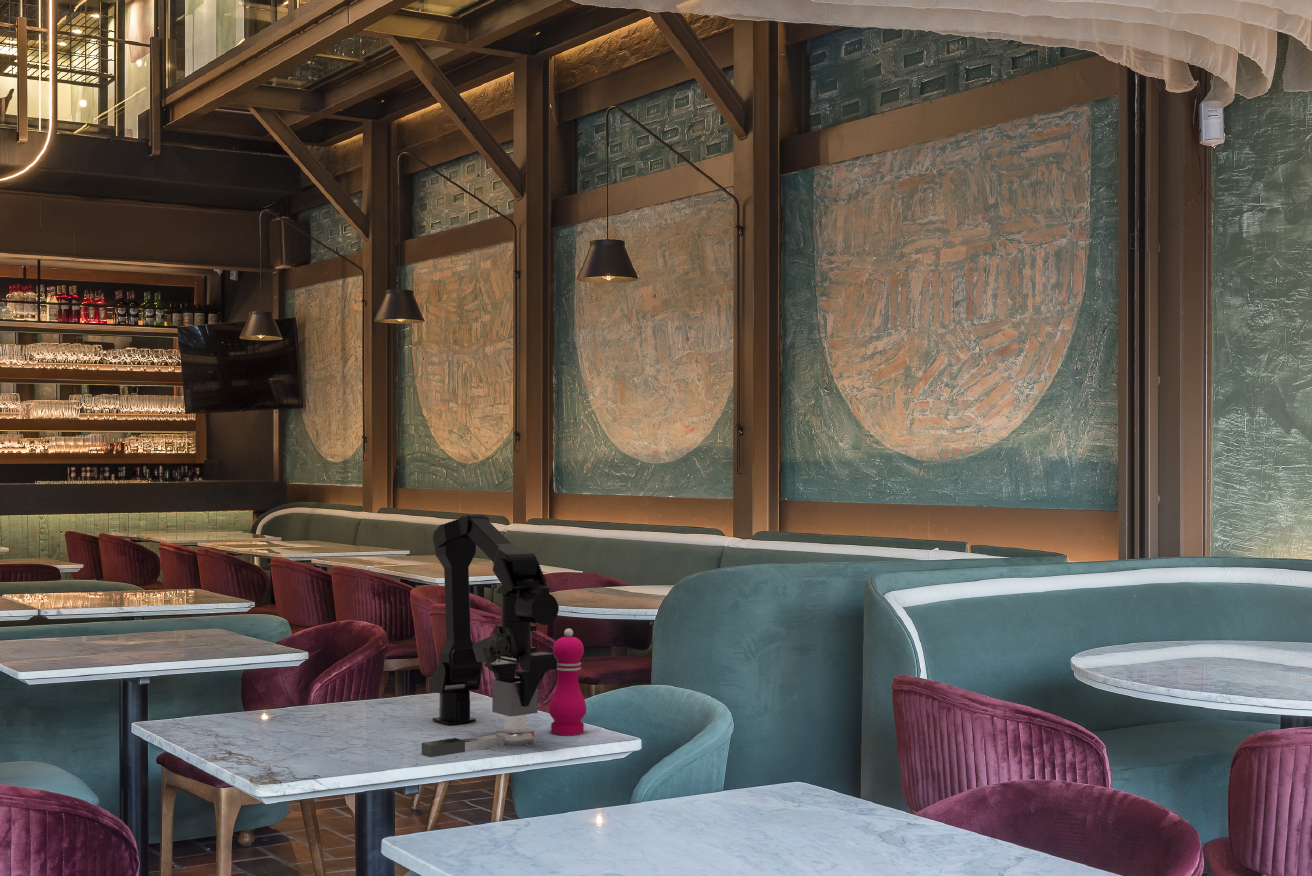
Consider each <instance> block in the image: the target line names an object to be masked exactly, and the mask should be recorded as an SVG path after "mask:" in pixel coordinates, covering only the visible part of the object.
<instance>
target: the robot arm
mask: <svg viewBox="0 0 1312 876" xmlns="http://www.w3.org/2000/svg"><path fill="white" fill-rule="evenodd" d="M432 541H433V545H434V552H435V557H436V558H437V560H438V561H439V563H440V564H441V565H442V568H443V571H444V572H443V573H444V575H443V577H444V600H445V602H444V603H445V635H446V637H445V638H446V641H445V642H444V644H443V646H442V648H441V650H440V651H439V653H438V663H437V664H438V665H437V666H436V668H435V670H434V672H433V673H432V676H431V678H430V679H429V686H430V687H429V688H430V691H431V692H434V693H437V694H439V715H438V716H437V717H432V721H433V722H434V721H435V722H436V723H437V722H438V723H440V724H444V725H445V724H446V725H448V726H449V725H450V726H451V725H458V724H465V723H473V722H476V721H477V718H475V717H471V698H470V697H471V691H479V689H480V684H481V679H482V675H483V666H484V667H485V668H487V669H489V671H491V672H492V673H493V675H494V679H502V678H511V677H516V676H517V677H519V678H520V684H521V700H522V706H523V707H527V706H528V705H529V703H530V701H531V699H532V697H533V695H534V693H535V691H536V689H537V687H538V688H539V684H540V683H541V681H542V679H543V678H544V676H545V674H546V673H549V671H551V670H556V669H557V668H558V658H557V657H556V656H555V655H554V654H553V652H552V653H550V652H546V651H537V647H534V646H533V645H532V639H533V638H532V637H533V634H532V633H533V632H537V625H543V626H546V625H547V626H548V625H550V624H552V623H553V622H554V621H555V620H556V618H557V617H558V614H559V610H560V609H559V607H560V606H559V604H558V601H557V599H556V597H555V596H554V595H552V594H551V593H550V587H549V586H548V585H547V579H546V577H545V575H544V572H543V571H542V568H541V565H540V563H539V560H538V559H537V556H536V555H535V554H534V553H533V552H531V551H530V550H528V549H527V548H523V547H520V546H518V545H514V544H512V542H511V541H509V539H507V537H505V536H504V535H503V533H502V532H501V531H499V529H497V528H496V527H495V526H494V525H493V524H492V522H490V519H489V517H488V515H485V514H482V513H478V514H473V513H471V514H470V513H469V514H465V515H462V516H460V517H459V518H458V519H454V520H451V521H448V522H445V523H442V524H440V525H438V527H437V528H436V529H435V530H434V532H433V535H432ZM477 547H478V548H479V549H480V550H481V551H482V552H483V554H484V555H486V556H487V557H488V558H489V560H491V562H492V563H493V565H492V572H493V573H494V575H495V576H496V578H497V579H498V581H499V582H500V583H501V586H499V587H498V588H497V590H496V594H498V595H501V603H500V604H501V609H500V614H501V615H500V617H501V618H500V624H496V625H495V628H494V634H493V635H490V636H486V637H485V638H483V639H481V640H479V641H478V642H475V643H474V642H473V640H472V633H471V632H472V631H471V630H472V628H471V601H470V574H469V571H470V570H469V569H470V565H471V564H472V563H473V560H474V558H475V556H476V555H477V554H476V553H477ZM536 624H537V625H536ZM483 663H484V664H483ZM518 664H519V668H520V669H517V667H518Z"/></svg>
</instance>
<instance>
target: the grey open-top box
mask: <svg viewBox="0 0 1312 876" xmlns="http://www.w3.org/2000/svg"><path fill="white" fill-rule="evenodd" d="M538 688H539V686H538V687H537V689H536V691H535V693H534V695H533V697H532V699H531V701H530V703H529V705H528V706H527V707H523V706H522V700H521V684H520V678H519V676H515V677H511V678H502V679H496V678H494V679H492V708H491V709H492V710H491V712H492V713H494V714H498V715H499V714H500V715H503V716H505V715H506V716H510V717H512V716H519V715H526V716H527V715H531V714H538V713H539V712H538V711H539V710H538V708H539V707H538V704H539V703H538V701H539V700H538V699H539V698H538V696H539V695H538V694H539V692H538V691H539V689H538Z"/></svg>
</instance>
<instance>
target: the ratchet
mask: <svg viewBox="0 0 1312 876" xmlns="http://www.w3.org/2000/svg"><path fill="white" fill-rule="evenodd" d="M526 721H527V714H526V715H519V716H512V717H510V716H506V715H504V728H500V729H497V730H496V733H495V734H489V735H484V736H476V737H470V738H464V739H462V738H456V737H453V738H446V739H445V738H444V739H439V740H433V741H425V742H421V753H420V754H421V755H423V756H427V757H429V758H433V757H439V756H441V757H442V756H446V755H454V754H460V753H461V754H462V753H465V752H471V751H476V750H483V749H489V747H490V748H495V746H497V747H502V745H503V746H507V745H510V746H511V747H517V745H521V746H527V745H526V744H528V745H531V744H530V743H532V744H534V743H535V730H534V729H532V728H528V727H527V724H526V723H527V722H526ZM533 742H534V743H533ZM512 745H513V746H512ZM510 746H509V747H510Z"/></svg>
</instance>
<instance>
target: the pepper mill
mask: <svg viewBox="0 0 1312 876" xmlns="http://www.w3.org/2000/svg"><path fill="white" fill-rule="evenodd" d="M563 635H564V636H562V637H560V638H558V639H556V640H555V642H554V643H553V646H552V647H553V648H552V654H554V655H555V656H556V657H557V658H558V668H557V669H555V670H556V671H557V672H556V673H557V683H556V687H555V690H554V693H553V695H552V697H551V699H550V703H549V705H548V706H549V707H548V713H549V716H550V717H551V718H552V719H553V722H552V723H551V726H550V727H551V729H550V730H551V734H553V733H554V735H556V734H560V735H559V736H575V735H574V734H578V735H582V734H583V733H584V725H585V724H584V722H583V721H582V719H583V718H584V717H585V715H586V714H587V704H586V700H585V698H584V695H583V693H582V690H581V688H580V683H579V673H580V670H582V667H581V665H582V662H581V661H580V660H581V659H582V658H583V656H584V653H585V647H584V644H583V642H582V641H581V640H580V639H579V638H578V637H575V636H573V635H574V631H573V629H572V628H566V629H565V630H564V632H563ZM581 733H582V734H581Z"/></svg>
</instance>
